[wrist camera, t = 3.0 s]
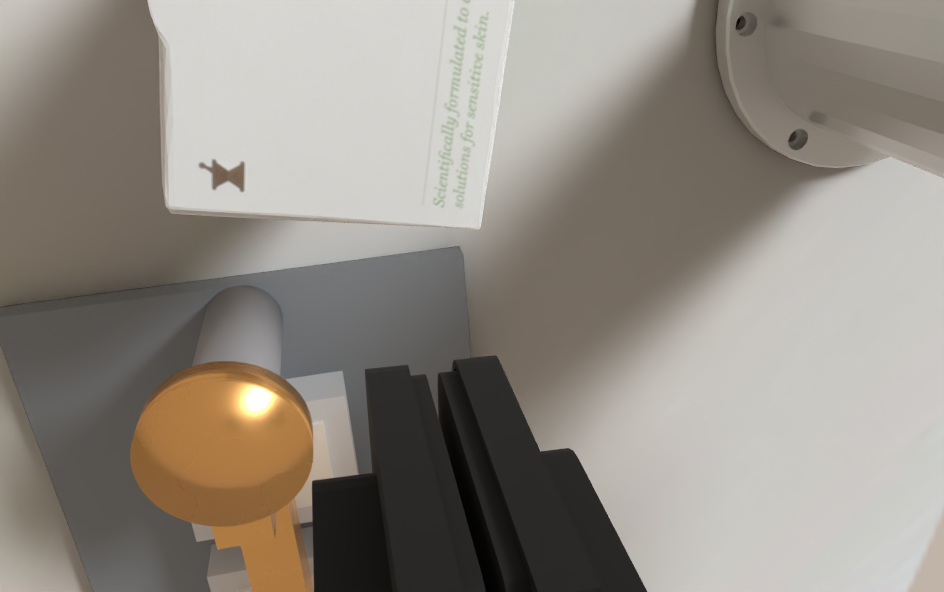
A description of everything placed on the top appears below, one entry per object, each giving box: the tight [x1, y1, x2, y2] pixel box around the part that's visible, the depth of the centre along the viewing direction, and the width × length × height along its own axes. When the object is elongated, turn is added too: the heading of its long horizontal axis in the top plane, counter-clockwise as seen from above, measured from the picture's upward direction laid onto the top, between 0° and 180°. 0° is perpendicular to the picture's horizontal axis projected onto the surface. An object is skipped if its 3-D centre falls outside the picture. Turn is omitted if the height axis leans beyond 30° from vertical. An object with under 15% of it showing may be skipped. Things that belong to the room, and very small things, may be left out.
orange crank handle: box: [130, 361, 314, 592], centre depth 29 cm, size 21×5×6 cm, turn 5°
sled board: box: [0, 246, 471, 592], centre depth 32 cm, size 18×18×8 cm
